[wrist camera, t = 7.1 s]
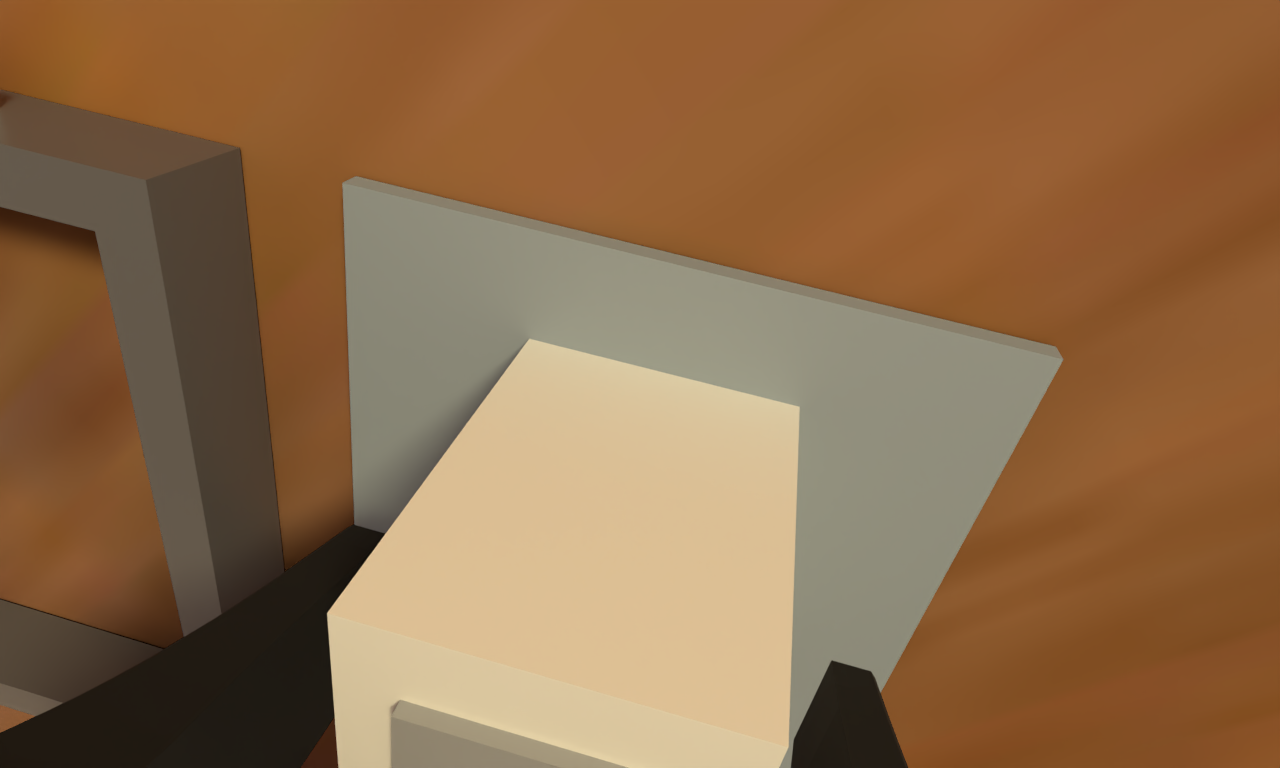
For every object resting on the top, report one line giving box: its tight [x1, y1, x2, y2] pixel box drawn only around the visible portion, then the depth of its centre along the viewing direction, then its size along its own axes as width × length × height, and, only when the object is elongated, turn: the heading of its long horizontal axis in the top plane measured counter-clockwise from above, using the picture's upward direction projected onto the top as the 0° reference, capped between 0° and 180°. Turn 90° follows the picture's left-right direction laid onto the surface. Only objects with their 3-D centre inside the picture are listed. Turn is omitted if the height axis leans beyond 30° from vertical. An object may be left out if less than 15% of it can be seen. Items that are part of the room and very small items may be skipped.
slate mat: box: [343, 176, 1063, 768], centre depth 14 cm, size 11×11×1 cm
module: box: [327, 339, 800, 768], centre depth 11 cm, size 4×7×6 cm, turn 170°
